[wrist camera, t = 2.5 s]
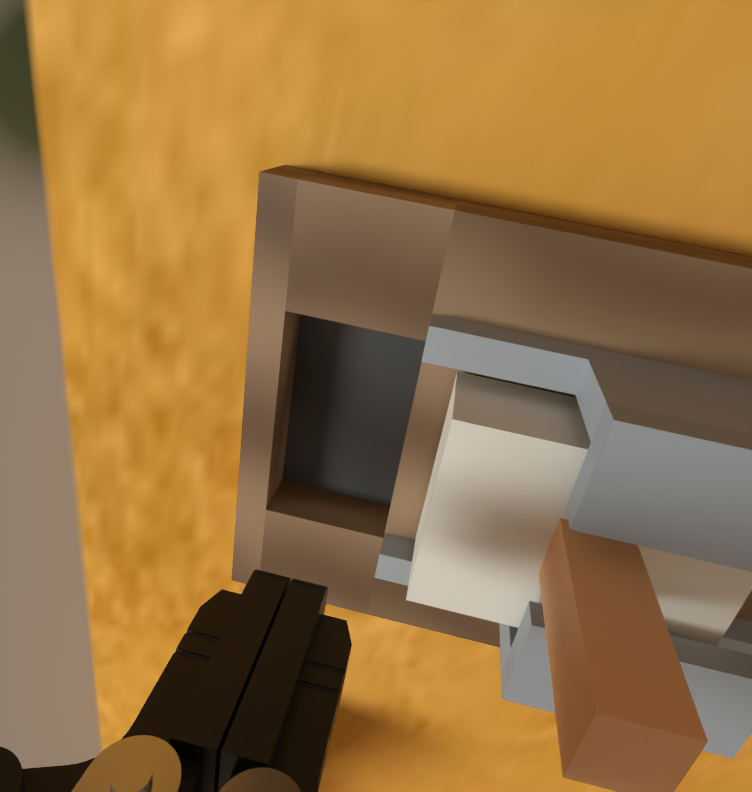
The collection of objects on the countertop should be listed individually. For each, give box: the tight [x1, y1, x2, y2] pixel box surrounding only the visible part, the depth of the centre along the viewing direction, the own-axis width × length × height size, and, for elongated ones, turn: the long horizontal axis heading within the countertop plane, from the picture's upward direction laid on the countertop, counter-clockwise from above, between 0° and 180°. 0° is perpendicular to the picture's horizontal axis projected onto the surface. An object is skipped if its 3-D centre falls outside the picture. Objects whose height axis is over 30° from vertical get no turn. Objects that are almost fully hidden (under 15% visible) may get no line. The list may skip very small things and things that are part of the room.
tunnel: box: [374, 314, 752, 758], centre depth 15 cm, size 9×15×4 cm, turn 80°
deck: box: [232, 165, 752, 647], centre depth 18 cm, size 14×24×2 cm, turn 80°
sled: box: [406, 372, 752, 792], centre depth 14 cm, size 6×8×8 cm
